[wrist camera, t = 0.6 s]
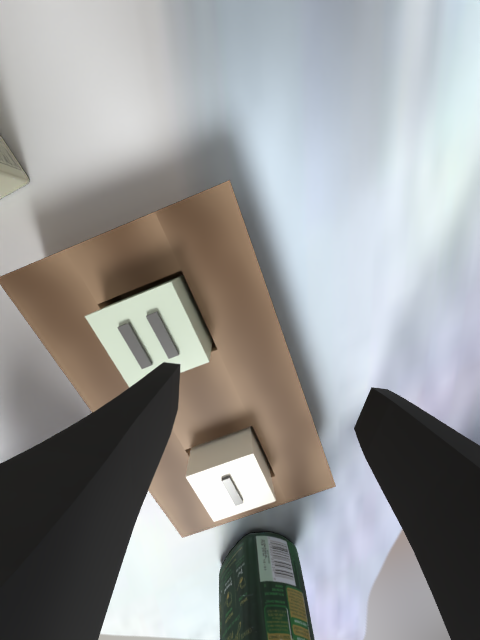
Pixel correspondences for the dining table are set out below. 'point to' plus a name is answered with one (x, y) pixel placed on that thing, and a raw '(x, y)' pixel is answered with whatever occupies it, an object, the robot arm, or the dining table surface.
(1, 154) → the skincare box
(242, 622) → the coffee jar
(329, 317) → the dining table surface
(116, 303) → the sage button
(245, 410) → the board
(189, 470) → the cream button
